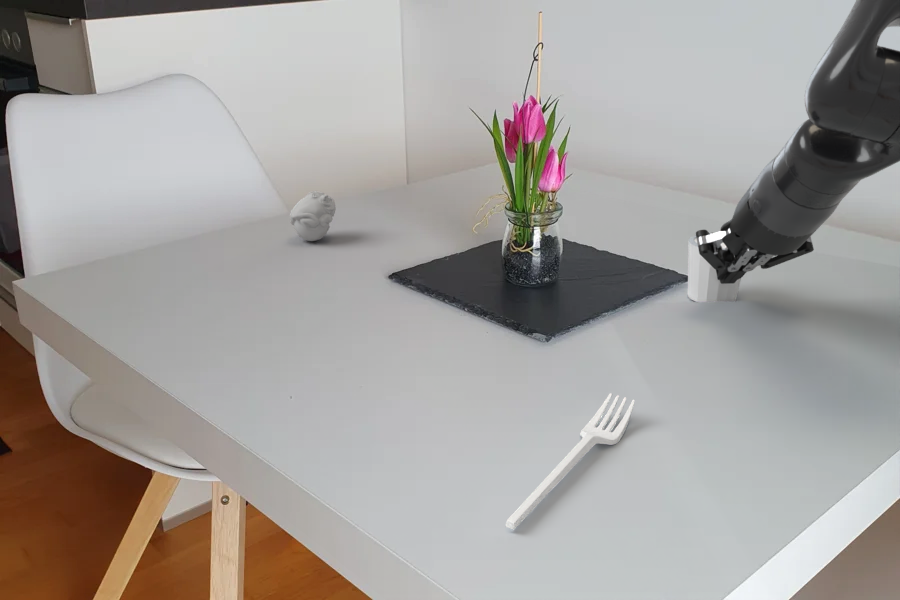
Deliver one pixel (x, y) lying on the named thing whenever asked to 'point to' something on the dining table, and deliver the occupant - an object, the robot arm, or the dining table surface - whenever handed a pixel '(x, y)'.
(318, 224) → the frog figurine
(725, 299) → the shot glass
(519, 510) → the fork
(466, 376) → the dining table surface
